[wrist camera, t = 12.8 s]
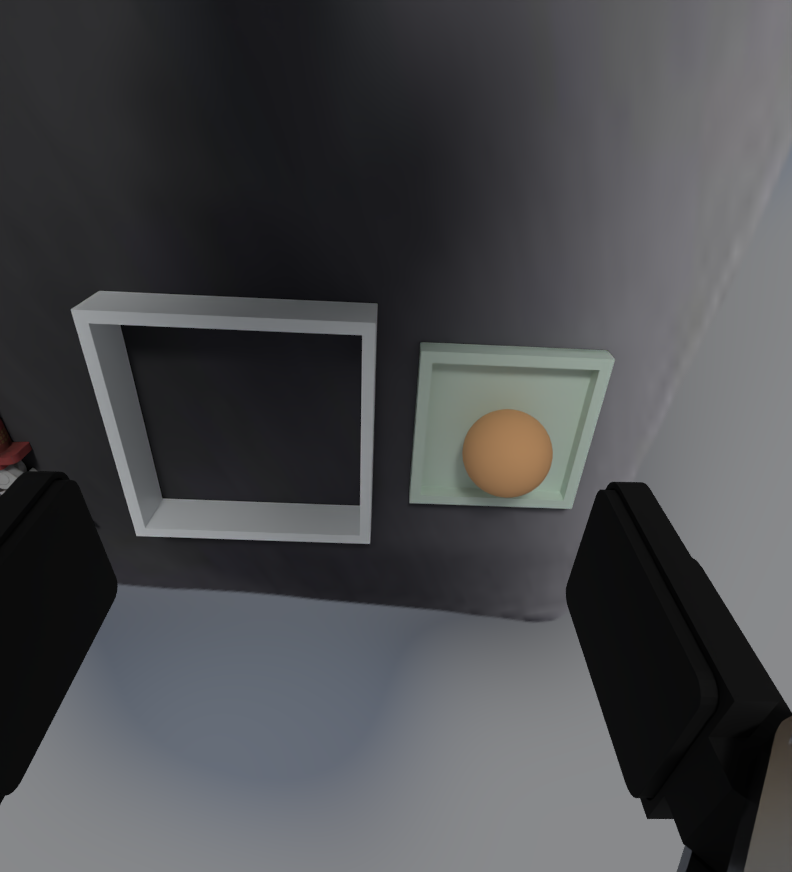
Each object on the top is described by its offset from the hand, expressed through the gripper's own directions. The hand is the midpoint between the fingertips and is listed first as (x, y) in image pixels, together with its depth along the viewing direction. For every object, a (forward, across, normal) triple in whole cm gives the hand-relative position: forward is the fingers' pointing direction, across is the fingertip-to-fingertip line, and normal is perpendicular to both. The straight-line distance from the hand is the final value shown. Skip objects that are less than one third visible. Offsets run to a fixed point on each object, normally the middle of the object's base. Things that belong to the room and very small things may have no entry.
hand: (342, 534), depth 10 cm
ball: (+22, -9, +14) cm, 28 cm away
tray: (+25, -9, +14) cm, 30 cm away
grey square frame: (+25, +9, +14) cm, 30 cm away
